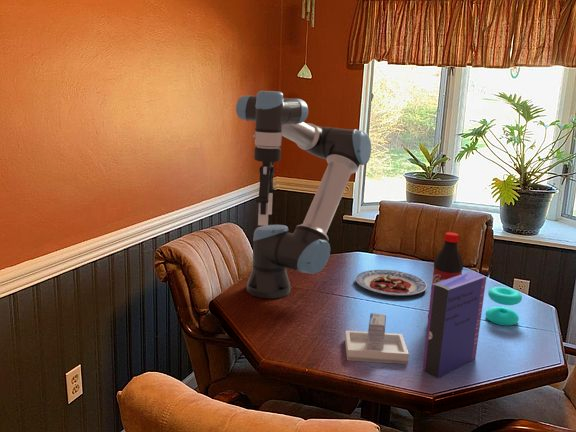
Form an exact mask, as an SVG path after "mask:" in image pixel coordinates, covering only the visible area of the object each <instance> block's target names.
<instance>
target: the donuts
mask: <svg viewBox="0 0 576 432" xmlns="http://www.w3.org/2000/svg"><path fill="white" fill-rule="evenodd" d="M488 297H489V299H490V300H491V301H493V302H494V303H497V304H499V305H504V306H496V305H495V306H491V307H488V309H487V310H486V311H485V317H486V319H487V320H488V321H490V322H491V323H492V324H496V325H500V326H513V325H516V324H518V322H519V320H520V319H519V318H520V317H519V315H518V313H517V312H516V311H515V310H513V309H511V308H509V307H506V306H516V305H518V304H520V303H521V302H522V299H523V296H522V294H521V293H520V292H519V291H518V290H516V289H513V288H511V287H506V286H494V287H491V288H490V289H489V290H488Z"/></svg>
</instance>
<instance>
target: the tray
mask: <svg viewBox="0 0 576 432" xmlns="http://www.w3.org/2000/svg"><path fill="white" fill-rule="evenodd" d="M344 334H345V336H344V339H345V340H344V344H345V353H346V360H347V361H350V362H351V361H353V362H366V363H367V362H368V363H385V364H395V365H396V364H397V365H398V364H399V365H408V364H409V357H410V356H409V355H410V353H409V351H408V347H407V344H406V342H405V339H404V336H403V333H391V332H389V333H388V332H385V336H384V349H383V350H367V341H368V331H359V330H345V333H344Z"/></svg>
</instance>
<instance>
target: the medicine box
mask: <svg viewBox="0 0 576 432" xmlns="http://www.w3.org/2000/svg"><path fill="white" fill-rule="evenodd" d="M386 318H387V316H386V314H384V313H383V314H382V313H373V312H372V313H370V314H369V322H368V328H367V332H368V341H367V350H383V349H384V336H385V333H386V321H387V319H386Z"/></svg>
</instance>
